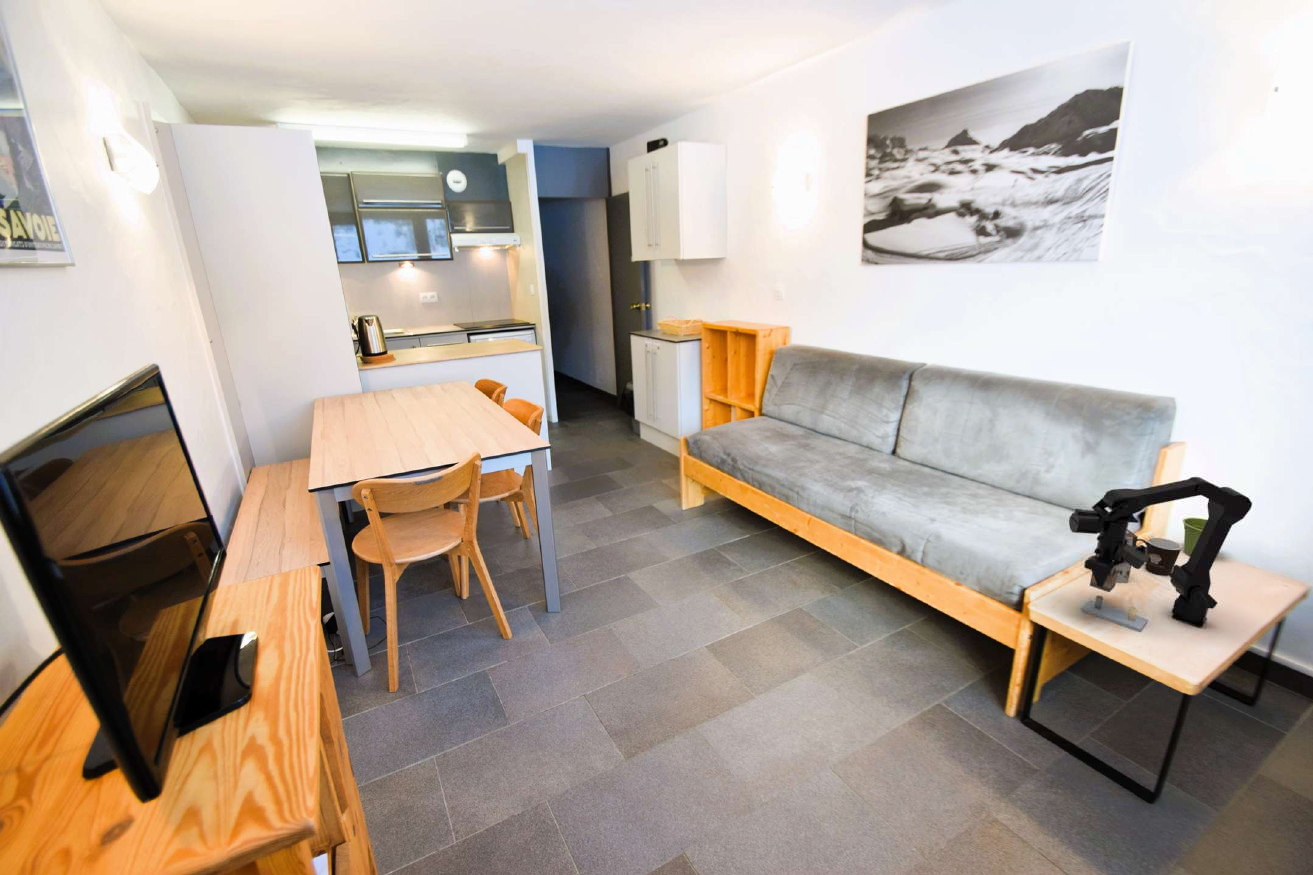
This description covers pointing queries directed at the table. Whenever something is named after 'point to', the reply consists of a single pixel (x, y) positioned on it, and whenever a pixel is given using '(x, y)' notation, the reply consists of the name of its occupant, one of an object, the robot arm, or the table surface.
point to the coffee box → (1124, 567)
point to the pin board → (1115, 614)
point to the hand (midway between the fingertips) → (1103, 583)
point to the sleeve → (1108, 583)
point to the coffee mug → (1161, 555)
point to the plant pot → (1192, 532)
